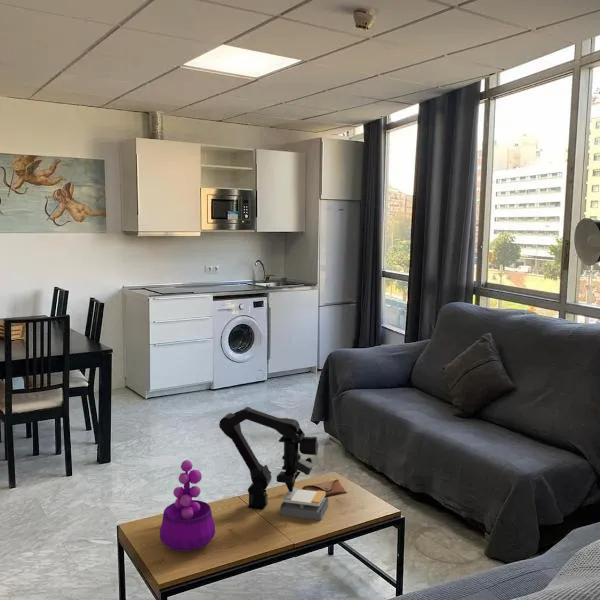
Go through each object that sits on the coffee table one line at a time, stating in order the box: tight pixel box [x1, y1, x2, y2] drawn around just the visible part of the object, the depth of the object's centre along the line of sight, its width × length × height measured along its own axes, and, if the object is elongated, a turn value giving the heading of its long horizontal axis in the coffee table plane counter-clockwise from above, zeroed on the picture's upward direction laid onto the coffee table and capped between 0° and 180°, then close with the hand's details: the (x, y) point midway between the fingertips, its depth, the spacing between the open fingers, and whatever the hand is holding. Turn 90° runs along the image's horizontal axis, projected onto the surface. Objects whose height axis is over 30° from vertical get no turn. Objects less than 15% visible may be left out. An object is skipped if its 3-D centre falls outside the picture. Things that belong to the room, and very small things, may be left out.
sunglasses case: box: [301, 479, 348, 498], centre depth 251 cm, size 18×7×7 cm
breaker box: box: [279, 497, 329, 521], centre depth 234 cm, size 16×12×4 cm
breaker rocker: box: [282, 487, 326, 506], centre depth 234 cm, size 14×11×2 cm
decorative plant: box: [159, 459, 216, 552], centre depth 207 cm, size 19×18×30 cm
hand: (291, 491), depth 235 cm, fingers closed
